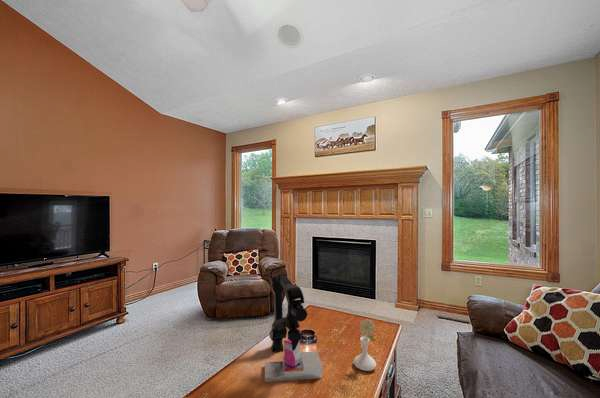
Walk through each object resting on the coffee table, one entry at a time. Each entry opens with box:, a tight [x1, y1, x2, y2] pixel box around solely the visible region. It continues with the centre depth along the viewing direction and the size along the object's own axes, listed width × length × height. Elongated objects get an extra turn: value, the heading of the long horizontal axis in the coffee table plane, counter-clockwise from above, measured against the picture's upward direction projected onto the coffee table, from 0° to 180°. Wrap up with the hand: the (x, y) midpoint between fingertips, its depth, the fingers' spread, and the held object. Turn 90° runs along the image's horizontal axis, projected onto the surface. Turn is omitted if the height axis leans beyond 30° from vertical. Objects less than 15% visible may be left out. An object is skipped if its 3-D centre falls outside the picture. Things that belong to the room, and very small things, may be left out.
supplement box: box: [283, 338, 301, 368], centre depth 129 cm, size 6×6×12 cm
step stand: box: [264, 351, 323, 383], centre depth 129 cm, size 12×27×6 cm, turn 97°
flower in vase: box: [353, 318, 377, 372], centre depth 134 cm, size 13×11×25 cm
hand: (292, 345), depth 129 cm, fingers open, 9 cm apart
